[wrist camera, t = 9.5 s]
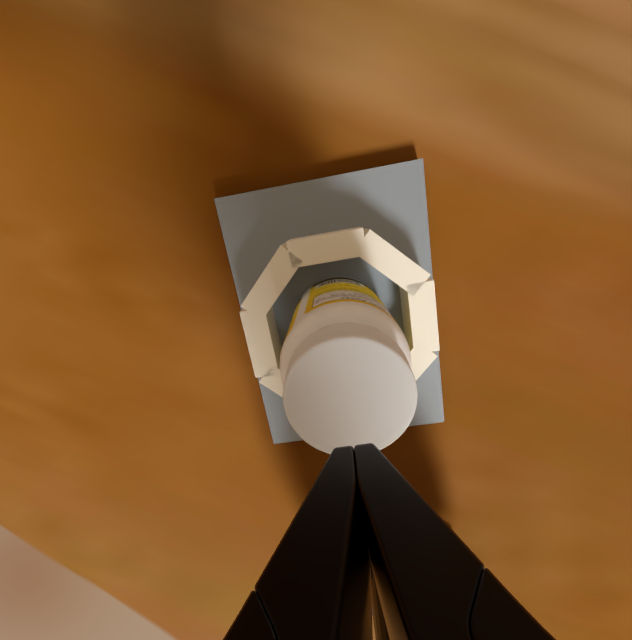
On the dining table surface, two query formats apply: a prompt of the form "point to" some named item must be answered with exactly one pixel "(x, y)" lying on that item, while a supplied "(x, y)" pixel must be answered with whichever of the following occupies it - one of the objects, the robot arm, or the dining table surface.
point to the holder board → (334, 267)
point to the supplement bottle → (346, 368)
